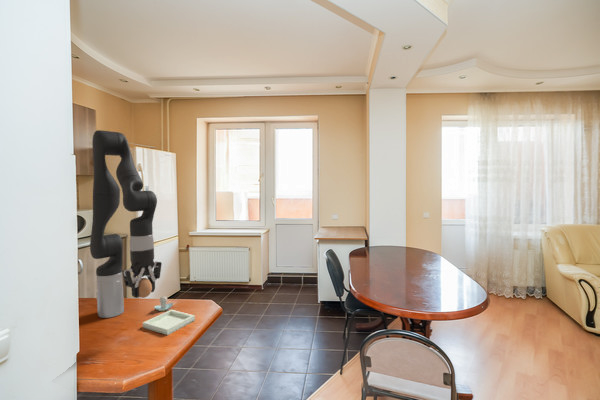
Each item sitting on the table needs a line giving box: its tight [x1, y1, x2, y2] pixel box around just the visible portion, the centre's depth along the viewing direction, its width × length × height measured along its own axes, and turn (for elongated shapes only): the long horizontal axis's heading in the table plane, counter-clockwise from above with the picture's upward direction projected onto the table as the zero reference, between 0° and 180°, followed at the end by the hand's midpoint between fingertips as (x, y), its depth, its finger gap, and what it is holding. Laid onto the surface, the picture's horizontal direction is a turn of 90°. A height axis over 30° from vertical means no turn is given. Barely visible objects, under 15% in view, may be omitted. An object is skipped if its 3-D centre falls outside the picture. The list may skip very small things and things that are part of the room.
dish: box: [142, 309, 196, 336], centre depth 122 cm, size 13×13×2 cm
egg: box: [138, 277, 152, 299], centre depth 112 cm, size 5×5×7 cm
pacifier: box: [154, 296, 174, 312], centre depth 136 cm, size 7×6×6 cm
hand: (143, 294), depth 112 cm, fingers closed on egg, 5 cm apart
